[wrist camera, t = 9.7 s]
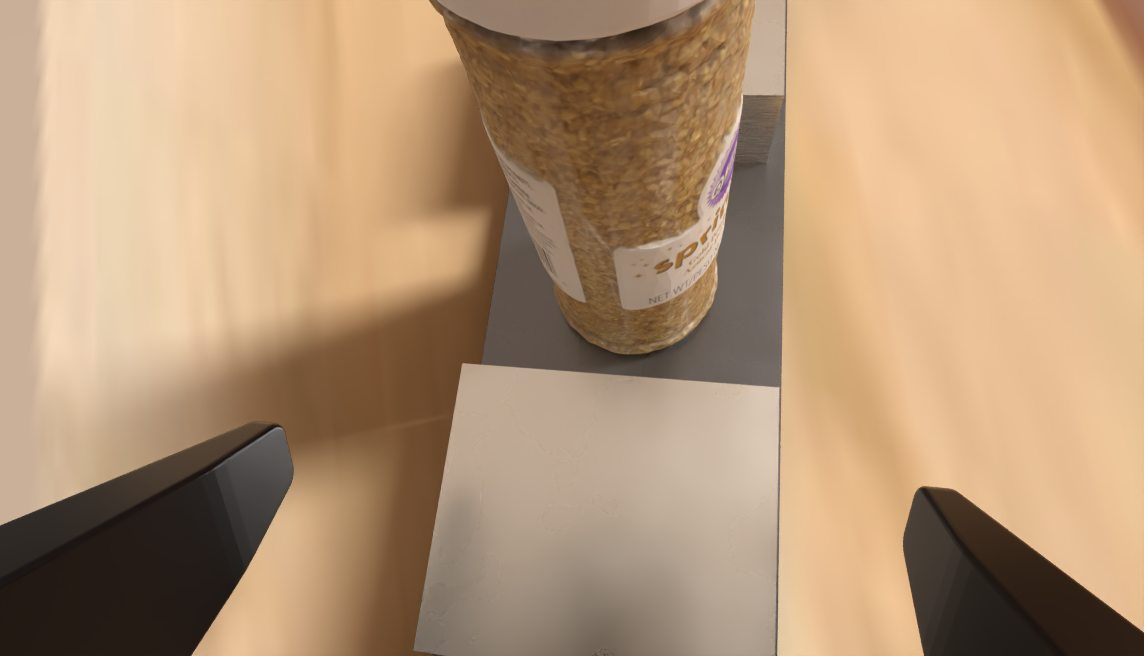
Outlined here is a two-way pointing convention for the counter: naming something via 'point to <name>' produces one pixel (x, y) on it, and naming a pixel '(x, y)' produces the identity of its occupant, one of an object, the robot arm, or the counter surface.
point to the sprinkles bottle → (614, 147)
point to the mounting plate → (625, 449)
